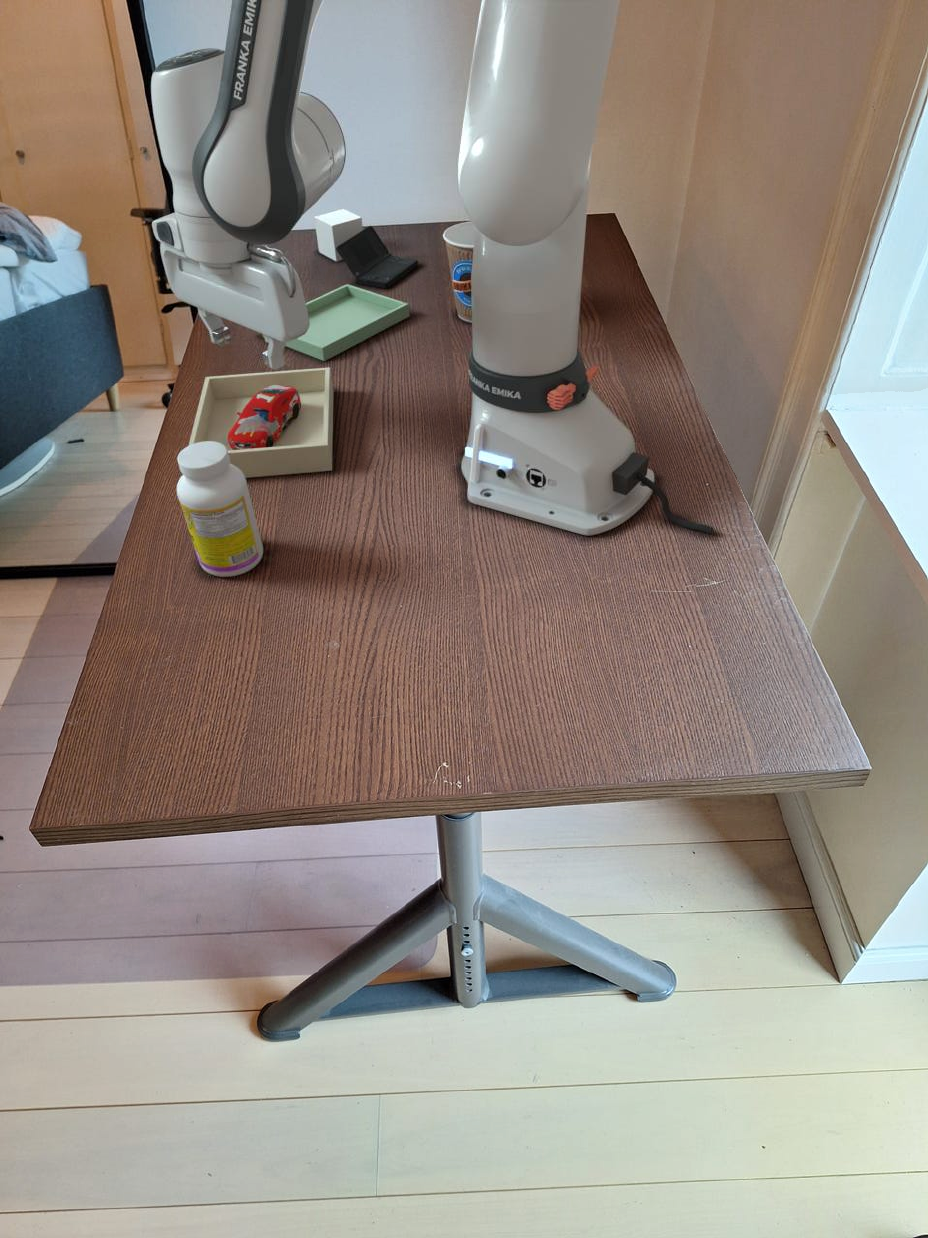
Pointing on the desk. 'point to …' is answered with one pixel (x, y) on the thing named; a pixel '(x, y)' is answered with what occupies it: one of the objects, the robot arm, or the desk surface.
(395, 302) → the tray
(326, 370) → the cream shallow box
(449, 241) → the coffee cup
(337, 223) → the white cube
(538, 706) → the desk surface
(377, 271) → the handheld gaming console
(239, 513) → the supplement bottle
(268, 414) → the race car
